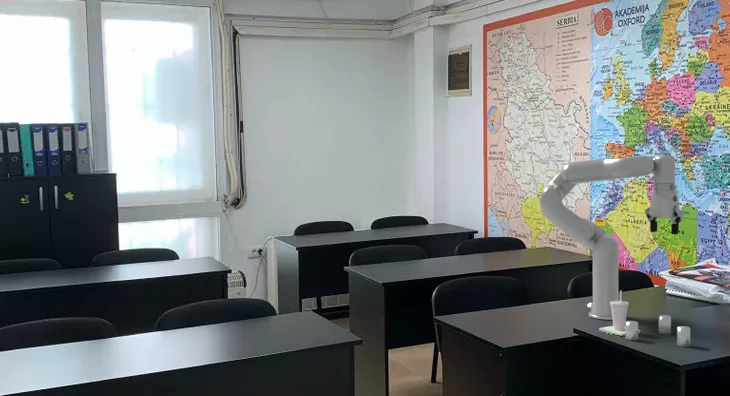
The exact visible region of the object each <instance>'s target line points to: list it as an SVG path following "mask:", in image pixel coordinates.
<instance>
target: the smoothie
mask: <svg viewBox="0 0 730 396" xmlns="http://www.w3.org/2000/svg"><path fill="white" fill-rule="evenodd" d="M622 291H623V290H620V291H619V300H618V301H611V302H610V305H611V311H612V319H613V320H612V326H613V327H614V329H615V330H625V326H626V321H627V314H628V307H629V305H630V304H629V302H628V301H626V300H625V301H623V300H622V299H623V298H622V297H623V295H622V294H623V292H622Z"/></svg>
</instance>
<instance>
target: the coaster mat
mask: <svg viewBox="0 0 730 396" xmlns="http://www.w3.org/2000/svg"><path fill="white" fill-rule="evenodd" d="M601 331H602V332H601ZM598 332H601V333H604V332H606V333H605V334H608V333H610V334H609V335H612V334H615V335H620V336H622V335H626V325H625V330H615V329H614V327H613V325H611V326H604V327H599V328H598ZM640 332H642V331H641V329H638V333H639V334H641V333H640ZM615 335H614V336H615Z"/></svg>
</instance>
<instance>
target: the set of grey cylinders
mask: <svg viewBox="0 0 730 396" xmlns="http://www.w3.org/2000/svg"><path fill="white" fill-rule="evenodd" d="M625 326H626V336H625V340H626V339H629V340H637V339H638V340H639V334H638V330H639V322H638V321H635V320H626V323H625ZM658 334H661V335H671V334H672V316H671V315H668V314H659V315H658ZM629 340H628V341H629ZM638 340H637V341H638ZM676 345H677V346H678V347H681V348H689V347H691V327H690V326H685V325H679V326H676Z"/></svg>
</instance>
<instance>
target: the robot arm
mask: <svg viewBox="0 0 730 396" xmlns="http://www.w3.org/2000/svg"><path fill="white" fill-rule="evenodd" d="M651 174H652V175H653V191H652V193H651V197H650V206H649V207H647V208H646V209H644V213H645V215H646V218H647V219H648V222H649V232H650V233H656V232H658V221H657V219H659V218H661V219H670V221H671V224H670V225H671V226H670V229H671V230H670V233H671V235H679V231H680V230H679V228H680V227H679V225H680V223H681V222H682V220H683V219H684V216H685V212H684V210H682V209H680V201H679V195H678V191H676V190H677V189H678V186H677V185H676V158H675V157H674V156H673V155H656V156H653V155H645V154H644V155H638V156H631V157H620V158H599V159H598V158H596V159H589V160H581V161H571V162H568V163H565V164H564V166H562V168H561V170H560V171H559V172H558V173H557V175H555V176H554V178H553V179H552V180H551V181H550V182H549V183H548V184H547V185H546V186H544V187H543V189H542V191H541V193H540V198H539V200H540V201H539V204H540V209H541V212H542V214H543V215H544V217H545V218H546V219H547V221H548V222H550V223H551V224H552V225H554V226H555V227H556V228H557V229H559V230H560V231H561V232H563V234H565V235H567V236H568V237H570V238H571V239H572V240H573V241H574V242H576V243H578V244H581V245H583V246H585V247H586V248H588V249H589V250H590V251H592V253H591V254H592V302H589V303H588V304H587V305H586V308H587V309H590V311H589V312H588V317H590V318H593V319H597V320H604V321H605V320H607V321H608V320H609V321H613V319H612V311H611V305H610V302H611V301H619V257H620V256H619V255H620V251H619V250H620V249H619V243H618V242H617V240H616V238H615V237H614V236H613V235H611V234H610V233H609V232H607V231H605V230H604V229H603V228H601V227H600V226H598V225H597V224H596V223H595V222H592V220H590V219H588V218H583V217H581V216H579V215H577V214H576V213H575V212H573V211H572V210H571V209H569V208H568V207H566V206H565V205H564V203H563V200H564V198H566V197H567V196H568V195H569V193H570V192H571V191H572V190H573V189H574V188H575V187H576V186H577V185H578V184H581V183H583V184H585V183H592V182H600V181H601V182H602V181H611V180H616V179H626V178H633V177H634V178H635V177H645V176H648V175H651Z"/></svg>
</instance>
